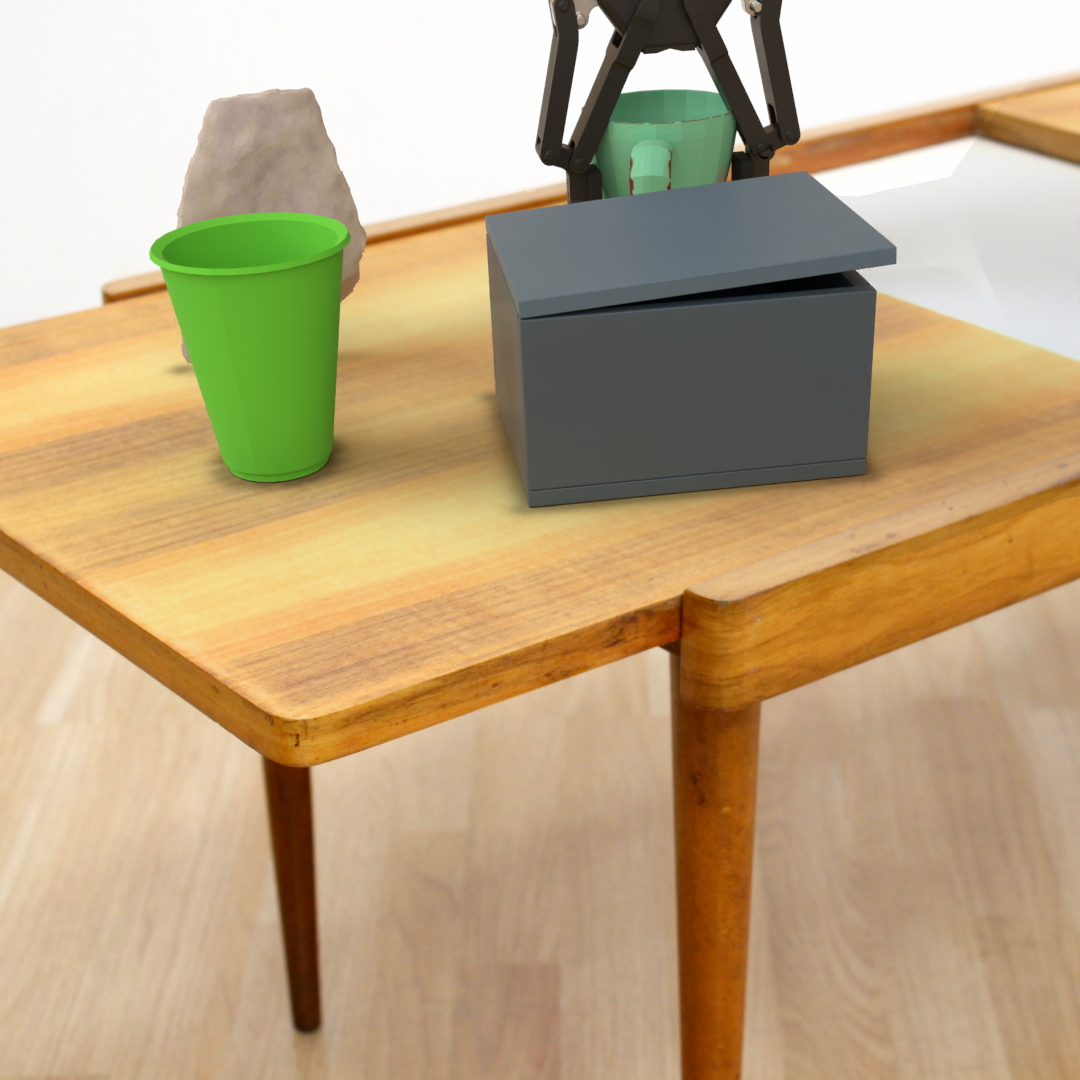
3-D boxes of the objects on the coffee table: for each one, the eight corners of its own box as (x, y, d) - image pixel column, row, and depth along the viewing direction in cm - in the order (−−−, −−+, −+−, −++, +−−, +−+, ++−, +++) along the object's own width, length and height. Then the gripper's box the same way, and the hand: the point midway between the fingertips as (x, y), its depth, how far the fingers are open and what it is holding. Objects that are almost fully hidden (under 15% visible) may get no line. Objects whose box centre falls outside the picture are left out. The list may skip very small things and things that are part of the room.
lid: (806, 185, 79) (805, 170, 78) (897, 264, 66) (897, 246, 66) (486, 231, 77) (484, 215, 77) (520, 319, 65) (518, 301, 65)
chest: (784, 369, 83) (790, 207, 79) (866, 474, 71) (877, 289, 67) (495, 396, 81) (485, 231, 77) (529, 507, 69) (519, 320, 65)
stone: (181, 373, 86) (137, 99, 79) (195, 352, 89) (154, 86, 82) (373, 368, 86) (346, 91, 79) (381, 347, 89) (356, 79, 82)
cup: (396, 428, 78) (376, 213, 73) (335, 507, 70) (308, 272, 65) (230, 419, 80) (199, 209, 75) (152, 495, 72) (112, 266, 67)
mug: (594, 240, 106) (588, 91, 101) (738, 238, 105) (740, 86, 100) (572, 312, 93) (565, 144, 88) (737, 310, 92) (738, 140, 87)
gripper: (828, -136, 93) (816, 233, 103) (470, -112, 91) (495, 262, 101) (868, -127, 86) (851, 267, 96) (483, -101, 84) (508, 298, 94)
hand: (669, 264), depth 99 cm, fingers open, 9 cm apart
